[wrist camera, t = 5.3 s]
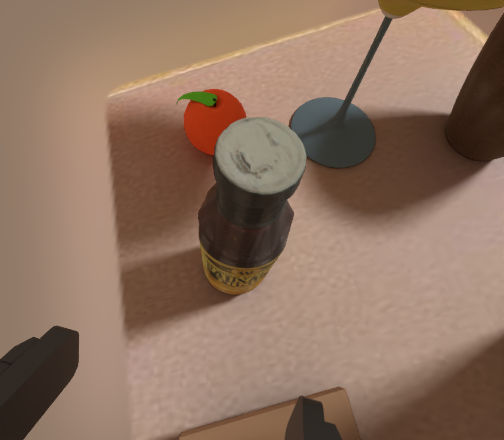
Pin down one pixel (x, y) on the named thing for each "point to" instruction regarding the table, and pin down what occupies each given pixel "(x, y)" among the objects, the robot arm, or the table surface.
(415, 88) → the table surface
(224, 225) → the sauce bottle
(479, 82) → the plant pot
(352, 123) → the cocktail glass
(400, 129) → the table surface
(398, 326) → the table surface
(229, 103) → the clementine
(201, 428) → the walnut shelf
